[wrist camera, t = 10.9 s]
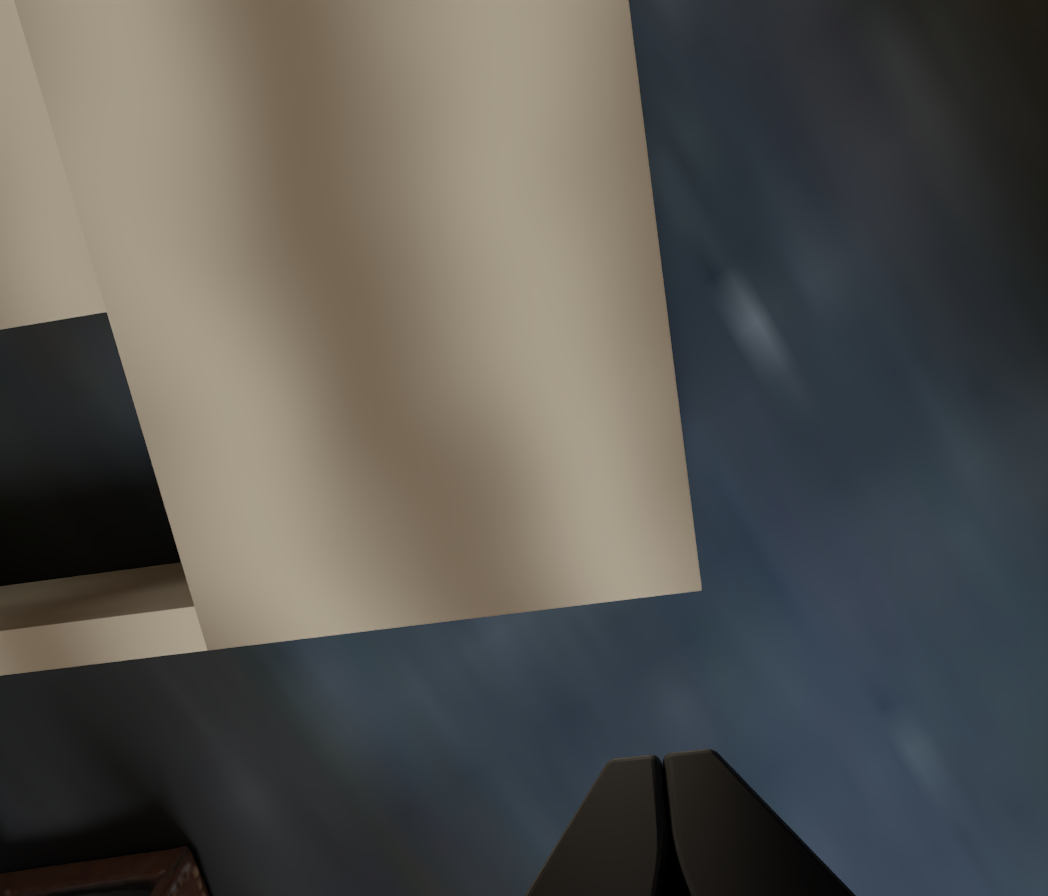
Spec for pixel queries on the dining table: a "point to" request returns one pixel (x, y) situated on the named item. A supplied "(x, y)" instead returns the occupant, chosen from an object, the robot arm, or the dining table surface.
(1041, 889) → the dining table surface
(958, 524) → the dining table surface
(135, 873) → the letter holder
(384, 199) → the trap board
